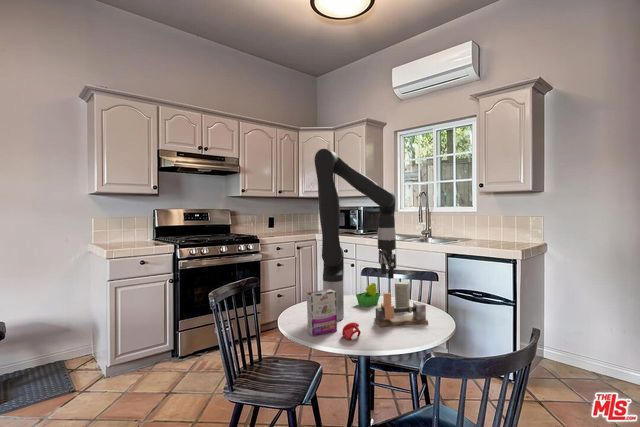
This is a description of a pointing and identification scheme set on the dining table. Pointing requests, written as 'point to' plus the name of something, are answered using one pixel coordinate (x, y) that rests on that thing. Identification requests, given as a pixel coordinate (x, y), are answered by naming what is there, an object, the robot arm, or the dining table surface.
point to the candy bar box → (321, 312)
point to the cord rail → (414, 319)
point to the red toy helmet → (350, 330)
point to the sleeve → (387, 306)
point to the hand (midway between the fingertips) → (387, 276)
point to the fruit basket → (368, 296)
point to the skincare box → (401, 294)
